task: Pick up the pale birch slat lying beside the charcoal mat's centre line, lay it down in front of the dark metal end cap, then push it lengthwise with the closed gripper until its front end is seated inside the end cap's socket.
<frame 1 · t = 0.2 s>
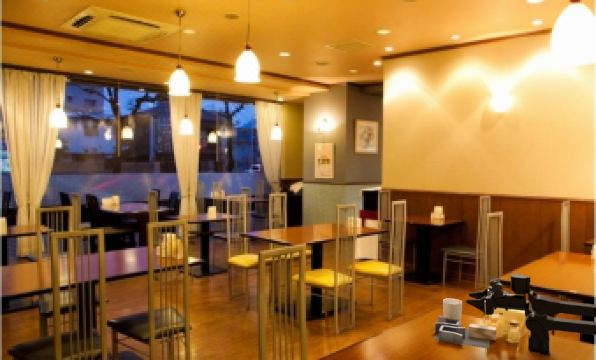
hand: (467, 297, 180), 17 cm above the table, tool horizontal, fingers open, 9 cm apart
mat: (463, 337, 183), on the table
end cap: (448, 338, 180), resting on mat
white cup: (452, 324, 198), on the table
slat: (482, 336, 182), on the table, touching mat
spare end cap: (451, 331, 188), resting on mat
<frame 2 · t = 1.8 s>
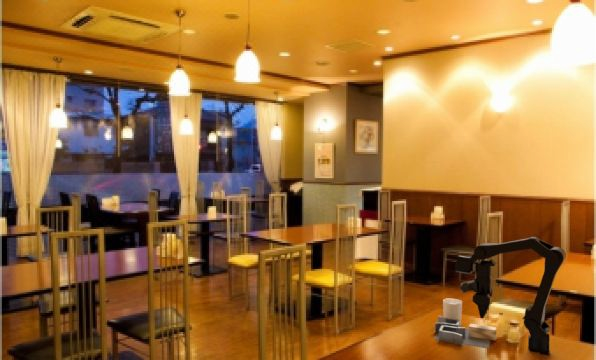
hand: (482, 314, 182), 9 cm above the table, tool pointing down, fingers open, 9 cm apart
nothing on the table moved.
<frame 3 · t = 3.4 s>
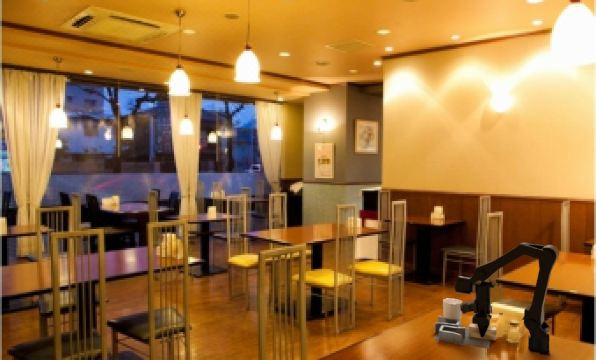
hand: (482, 335, 182), 1 cm above the table, tool pointing down, fingers closed on slat, 3 cm apart
slat: (482, 336, 182), on the table, touching gripper, mat
everything else where it was.
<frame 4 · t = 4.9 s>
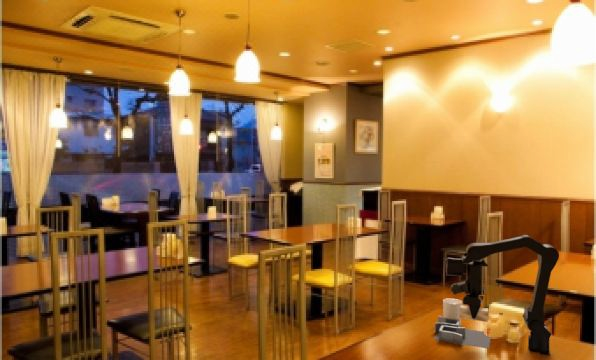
hand: (474, 316, 176), 11 cm above the table, tool pointing down, fingers closed on slat, 3 cm apart
slat: (473, 318, 176), point 10 cm above the table, touching gripper
everything else where it was.
when the fingers open (2 cm above the table, at t = 6.7 s): slat stays where it is, resting on mat.
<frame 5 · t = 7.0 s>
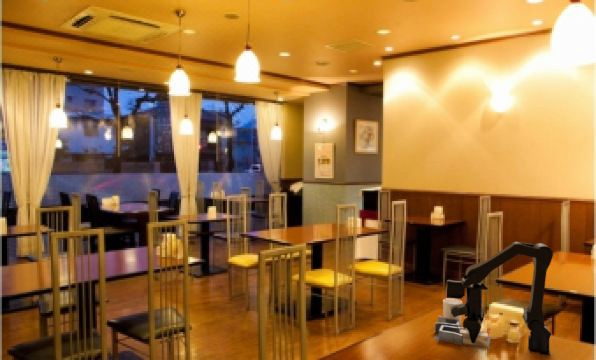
hand: (473, 339, 176), 2 cm above the table, tool pointing down, fingers open, 7 cm apart
slat: (473, 343, 176), resting on mat
everything else where it was.
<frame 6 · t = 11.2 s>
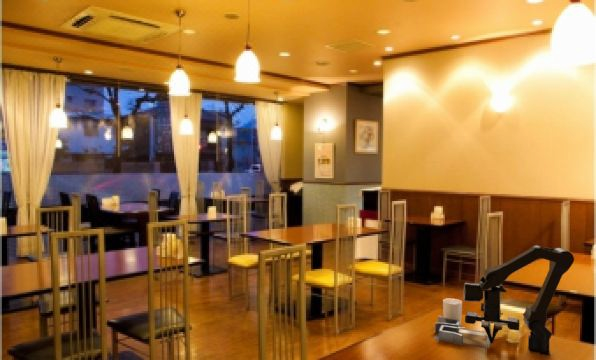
hand: (491, 343, 173), 2 cm above the table, tool pointing down, fingers closed
slat: (472, 342, 176), resting on mat, touching gripper
everything else where it was.
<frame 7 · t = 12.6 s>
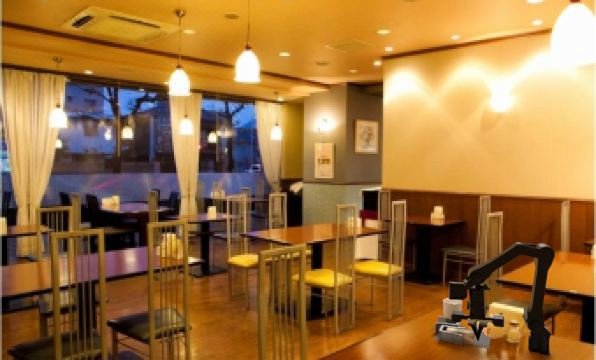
hand: (478, 340, 175), 2 cm above the table, tool pointing down, fingers closed
slat: (460, 340, 178), resting on mat, touching gripper
everything else where it was.
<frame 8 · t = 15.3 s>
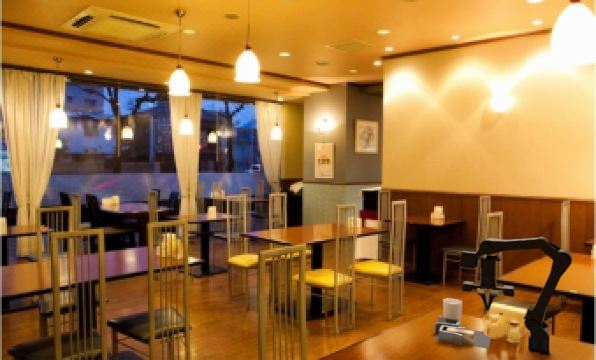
hand: (487, 310, 179), 12 cm above the table, tool pointing down, fingers closed
slat: (460, 340, 178), resting on mat
everything else where it was.
at the end: slat 0.5 cm from the target spot on the end cap, point 0.0 cm above the end cap's base; the gripper is holding nothing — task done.
